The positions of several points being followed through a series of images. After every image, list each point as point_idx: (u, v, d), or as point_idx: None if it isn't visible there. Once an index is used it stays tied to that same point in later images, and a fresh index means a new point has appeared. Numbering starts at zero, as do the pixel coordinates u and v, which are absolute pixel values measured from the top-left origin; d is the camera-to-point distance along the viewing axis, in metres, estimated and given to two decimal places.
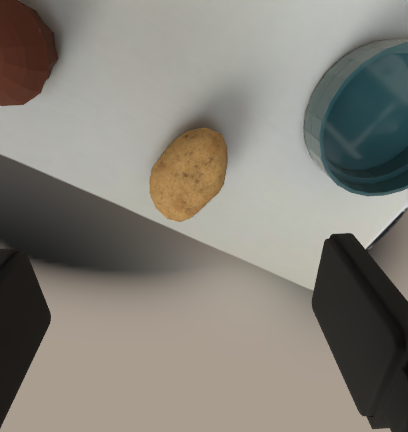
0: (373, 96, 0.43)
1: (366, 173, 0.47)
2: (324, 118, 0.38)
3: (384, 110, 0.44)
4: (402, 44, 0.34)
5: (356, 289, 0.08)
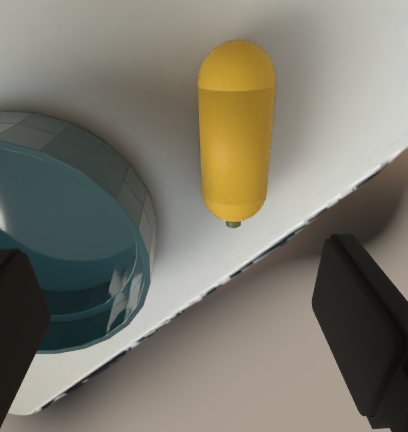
0: (43, 196, 0.26)
1: None
2: None
3: (66, 220, 0.27)
4: None
5: (356, 289, 0.08)
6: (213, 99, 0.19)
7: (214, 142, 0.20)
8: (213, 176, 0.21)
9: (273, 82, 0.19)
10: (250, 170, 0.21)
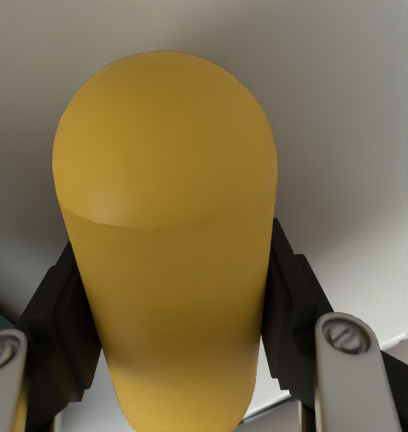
0: None
1: None
2: None
3: None
4: None
5: None
6: (69, 228, 0.06)
7: (97, 319, 0.08)
8: (111, 375, 0.09)
9: (260, 191, 0.06)
10: (191, 394, 0.08)
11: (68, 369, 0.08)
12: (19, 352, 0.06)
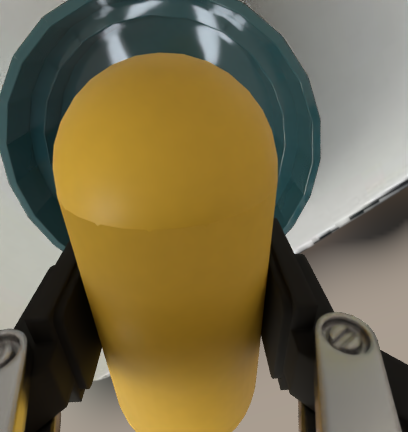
0: None
1: None
2: (2, 96, 0.16)
3: None
4: None
5: None
6: (70, 229, 0.06)
7: (97, 320, 0.08)
8: (112, 376, 0.09)
9: (260, 192, 0.06)
10: (191, 395, 0.08)
11: (68, 369, 0.08)
12: (19, 352, 0.06)
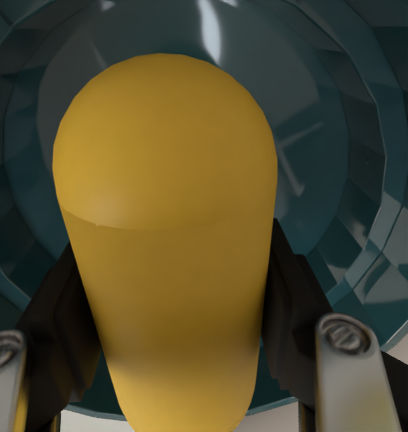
0: None
1: None
2: None
3: None
4: None
5: None
6: (70, 230, 0.06)
7: (97, 320, 0.08)
8: (112, 376, 0.09)
9: (260, 193, 0.06)
10: (191, 395, 0.08)
11: (68, 369, 0.08)
12: (19, 352, 0.06)
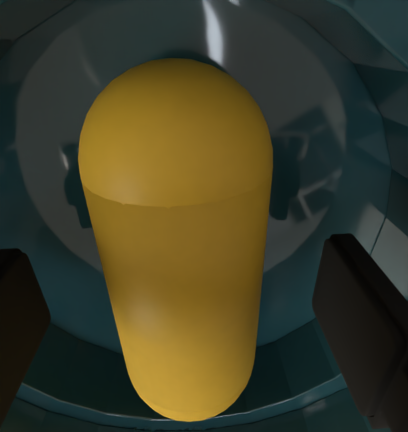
0: None
1: None
2: None
3: None
4: None
5: (356, 289, 0.08)
6: (95, 211, 0.07)
7: (115, 295, 0.08)
8: (126, 349, 0.10)
9: (259, 176, 0.07)
10: (200, 361, 0.09)
11: None
12: None
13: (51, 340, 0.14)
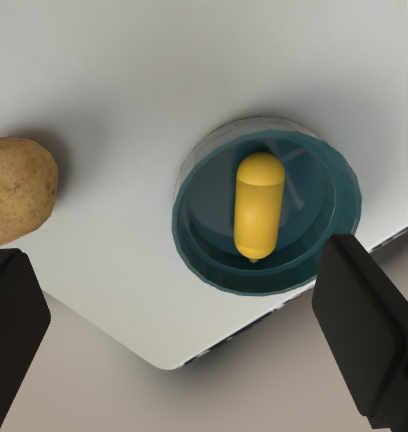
0: None
1: (236, 260, 0.39)
2: (183, 185, 0.29)
3: None
4: (290, 132, 0.27)
5: (356, 289, 0.08)
6: (242, 186, 0.32)
7: (241, 209, 0.33)
8: (239, 228, 0.34)
9: (280, 180, 0.31)
10: (261, 229, 0.33)
11: None
12: None
13: (202, 240, 0.38)
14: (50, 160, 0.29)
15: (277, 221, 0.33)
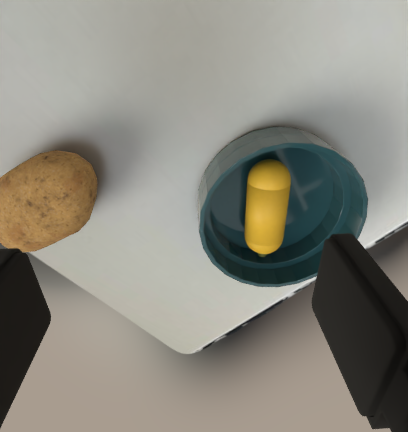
0: None
1: (252, 255, 0.43)
2: (210, 191, 0.33)
3: None
4: (306, 144, 0.31)
5: (356, 289, 0.08)
6: (248, 187, 0.36)
7: (247, 207, 0.37)
8: (246, 224, 0.39)
9: (281, 187, 0.34)
10: (262, 228, 0.37)
11: None
12: None
13: (222, 237, 0.42)
14: (92, 171, 0.33)
15: (279, 223, 0.37)
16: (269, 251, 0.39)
